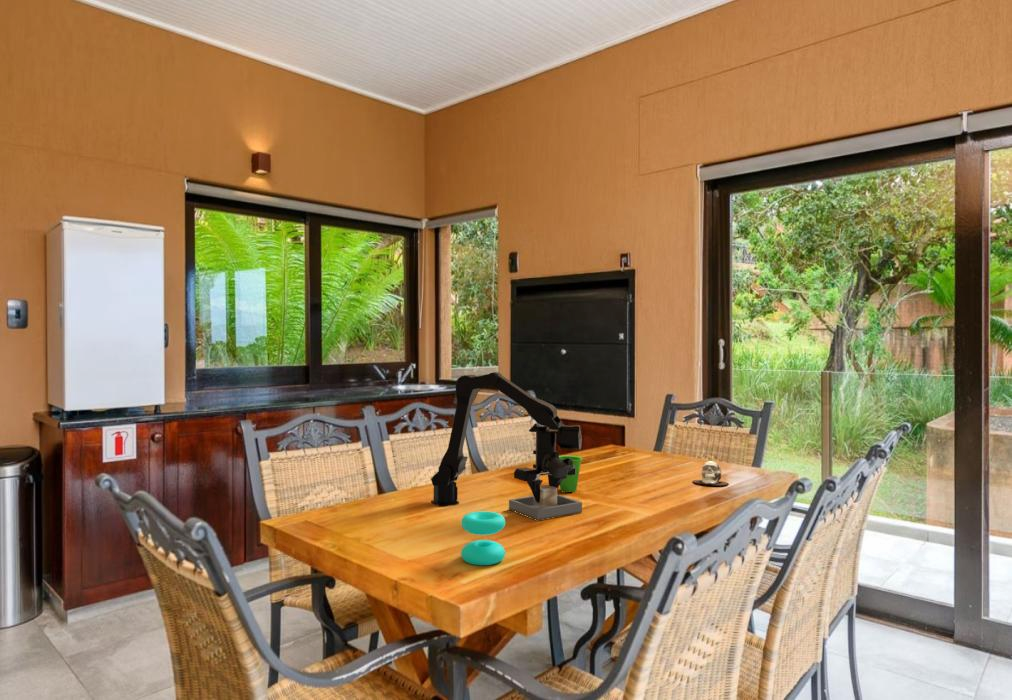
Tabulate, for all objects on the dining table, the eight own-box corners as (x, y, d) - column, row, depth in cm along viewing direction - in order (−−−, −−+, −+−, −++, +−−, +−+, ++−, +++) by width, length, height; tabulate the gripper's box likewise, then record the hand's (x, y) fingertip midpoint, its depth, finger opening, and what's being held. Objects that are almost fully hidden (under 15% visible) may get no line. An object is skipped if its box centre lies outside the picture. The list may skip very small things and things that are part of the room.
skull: (728, 486, 217) (707, 461, 220) (705, 503, 221) (685, 479, 224) (734, 478, 228) (714, 455, 231) (712, 495, 232) (692, 472, 235)
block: (543, 507, 184) (543, 490, 184) (533, 503, 188) (533, 486, 188) (557, 505, 186) (557, 488, 186) (546, 501, 191) (546, 484, 191)
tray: (537, 521, 177) (537, 510, 177) (508, 509, 188) (509, 499, 188) (581, 512, 186) (582, 502, 186) (551, 502, 197) (551, 492, 197)
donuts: (511, 512, 148) (495, 523, 139) (511, 555, 149) (495, 569, 139) (472, 508, 152) (453, 518, 143) (471, 550, 152) (453, 563, 143)
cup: (587, 491, 213) (587, 457, 213) (570, 495, 206) (571, 461, 206) (565, 486, 219) (566, 454, 219) (549, 491, 212) (549, 457, 212)
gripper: (536, 454, 175) (536, 511, 175) (588, 448, 185) (587, 502, 186) (513, 448, 184) (512, 503, 184) (563, 443, 195) (563, 494, 195)
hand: (545, 501), depth 187 cm, fingers closed on block, 5 cm apart
